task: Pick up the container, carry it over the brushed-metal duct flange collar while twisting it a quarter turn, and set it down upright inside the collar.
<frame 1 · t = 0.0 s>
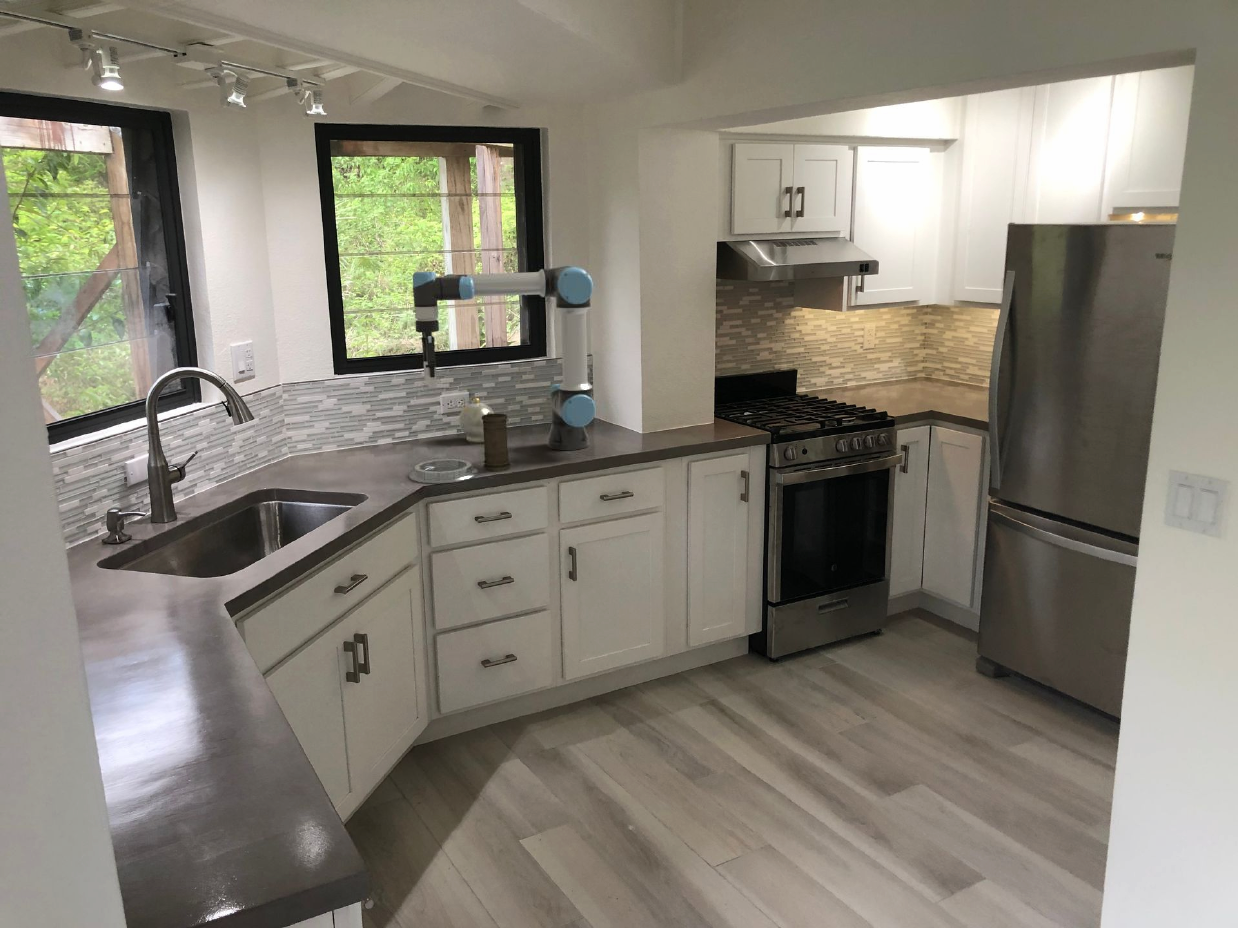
hand: (430, 384, 322), 28 cm above the worktop, fingers open, 13 cm apart
teapot: (481, 441, 364), on the worktop
container: (497, 468, 324), on the worktop
flange: (443, 474, 316), on the worktop
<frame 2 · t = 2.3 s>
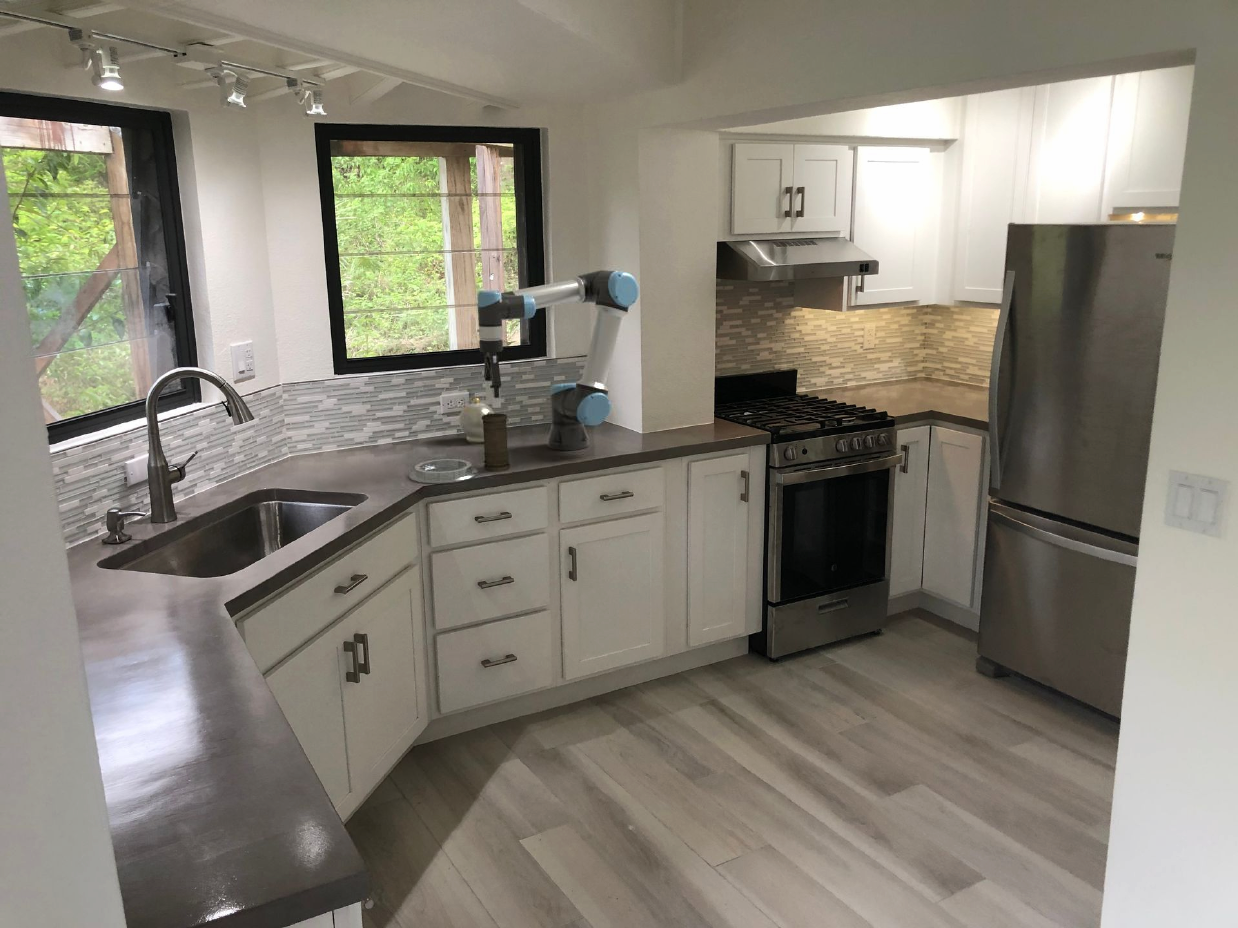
hand: (493, 404, 318), 22 cm above the worktop, fingers open, 13 cm apart
nothing on the worktop moved.
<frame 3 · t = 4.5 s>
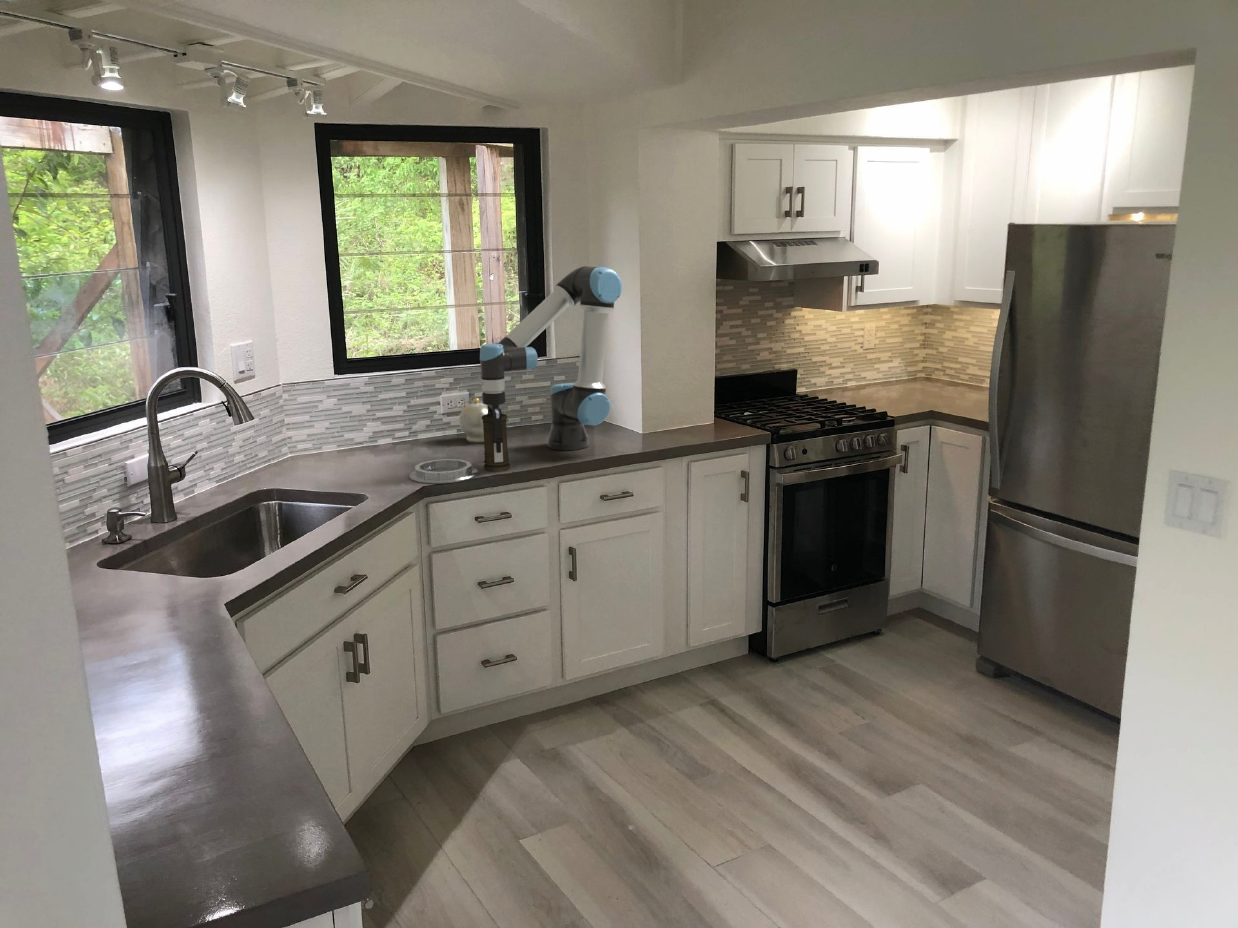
hand: (496, 458, 323), 3 cm above the worktop, fingers closed on container, 8 cm apart
container: (497, 468, 324), on the worktop, touching gripper
everything else where it was.
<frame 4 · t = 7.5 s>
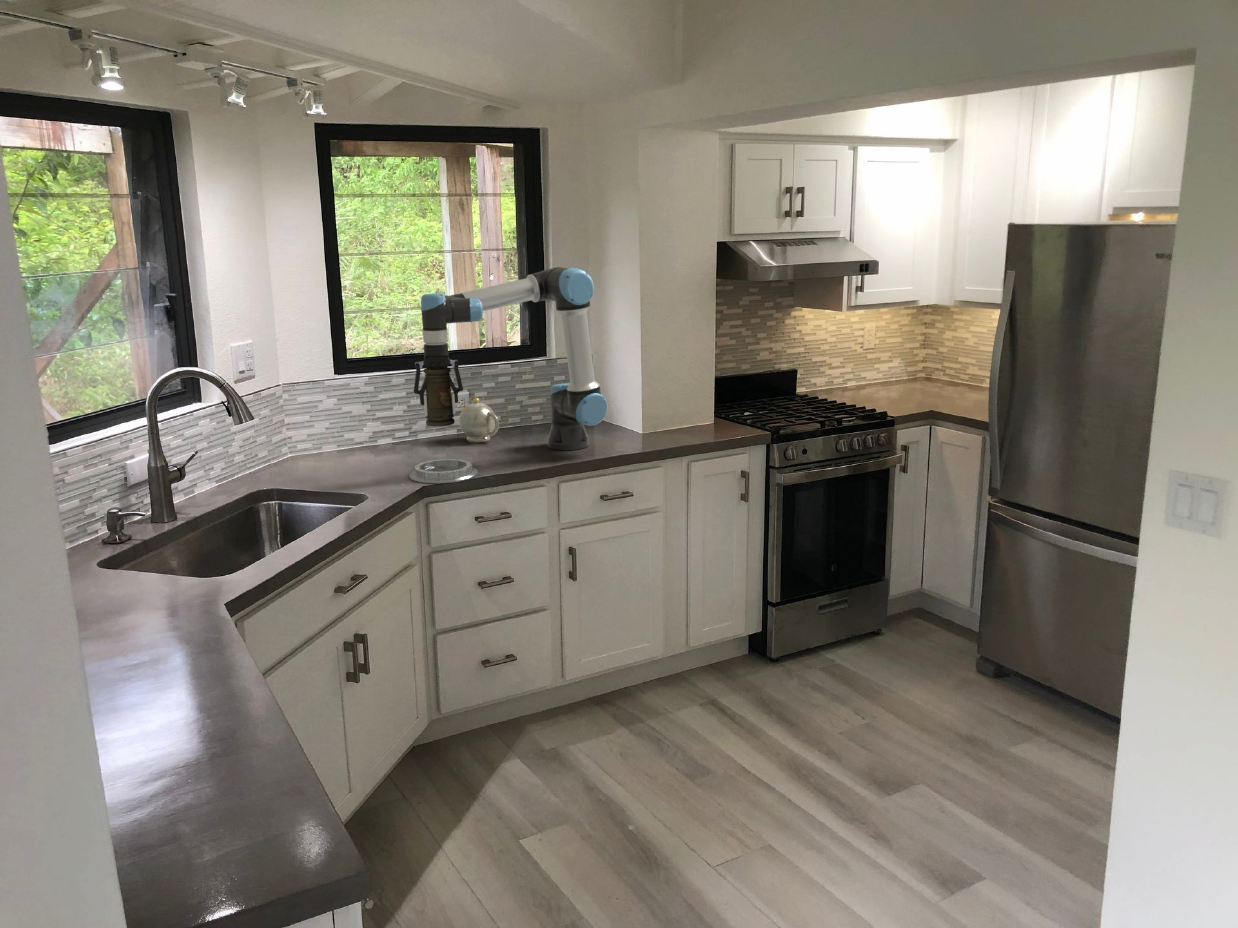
hand: (439, 413, 311), 20 cm above the worktop, fingers closed on container, 8 cm apart
container: (440, 424, 312), point 17 cm above the worktop, touching gripper
everything else where it was.
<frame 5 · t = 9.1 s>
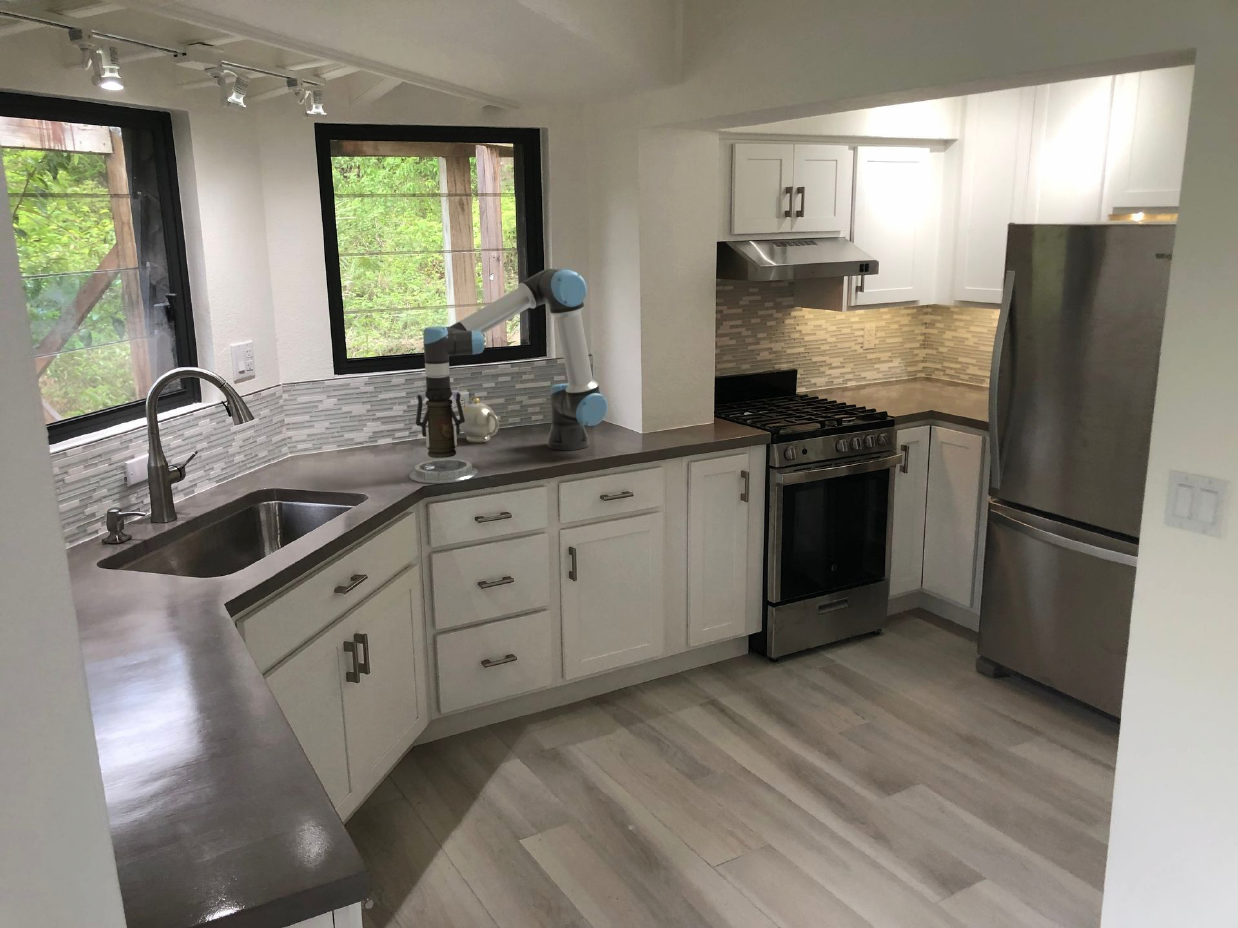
hand: (441, 445, 314), 10 cm above the worktop, fingers closed on container, 8 cm apart
container: (442, 455, 315), point 6 cm above the worktop, touching gripper
everything else where it was.
when the fingers open (6 cm above the worktop, at t = 10.5 s): container drops 2 cm, resting on flange.
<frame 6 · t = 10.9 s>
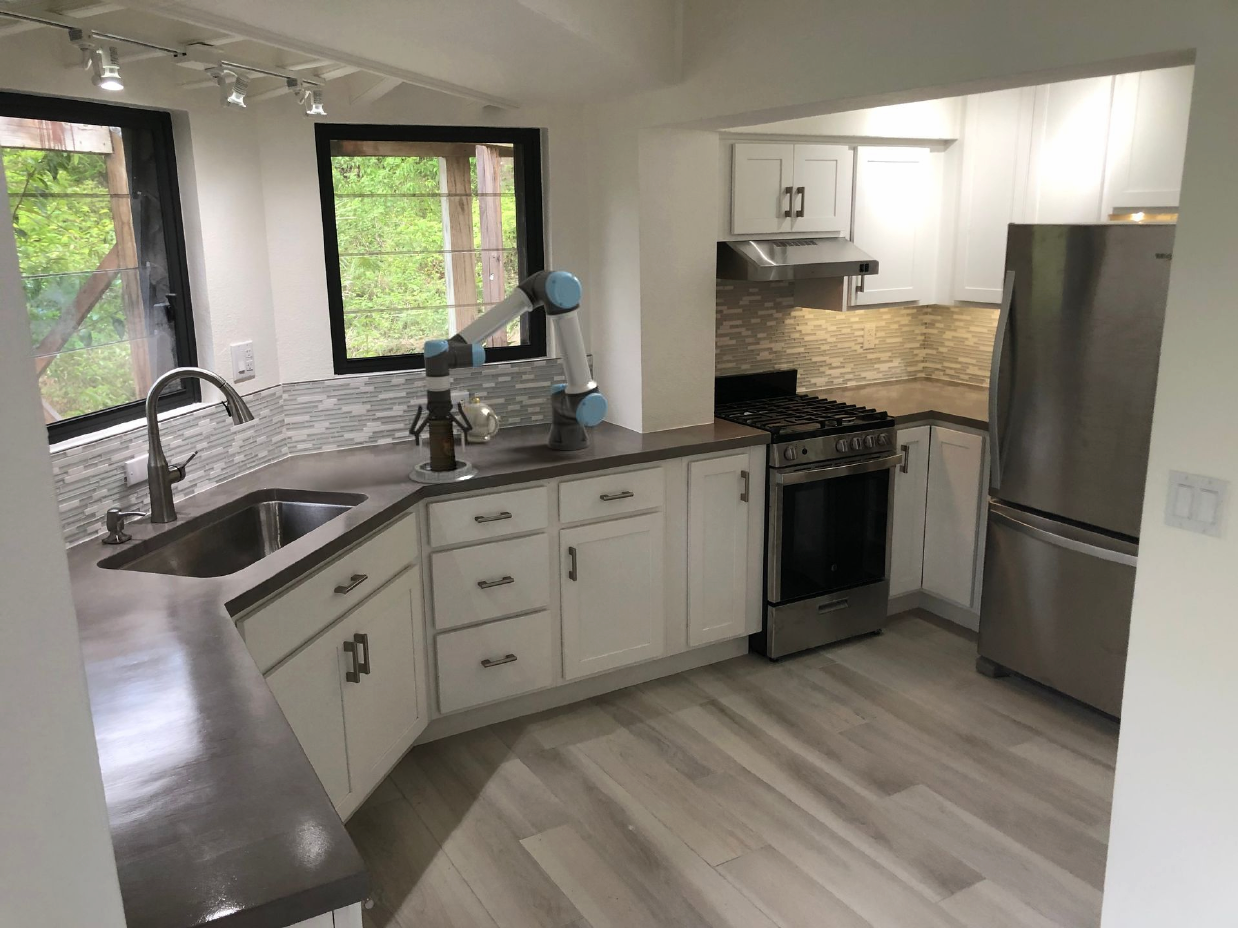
hand: (442, 453, 315), 7 cm above the worktop, fingers open, 13 cm apart
container: (443, 473, 316), resting on flange
everything else where it was.
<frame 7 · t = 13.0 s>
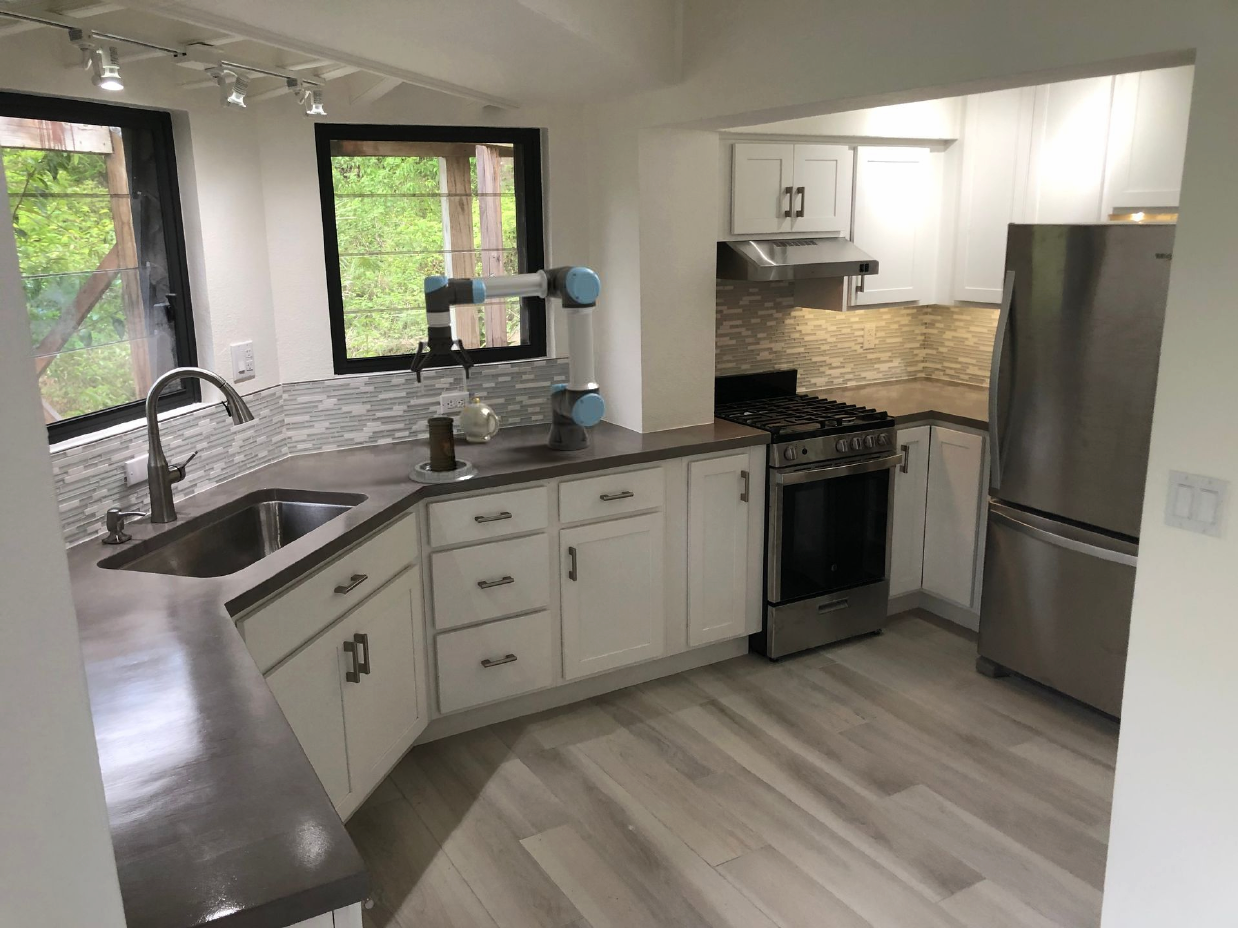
hand: (444, 391, 314), 27 cm above the worktop, fingers open, 13 cm apart
nothing on the worktop moved.
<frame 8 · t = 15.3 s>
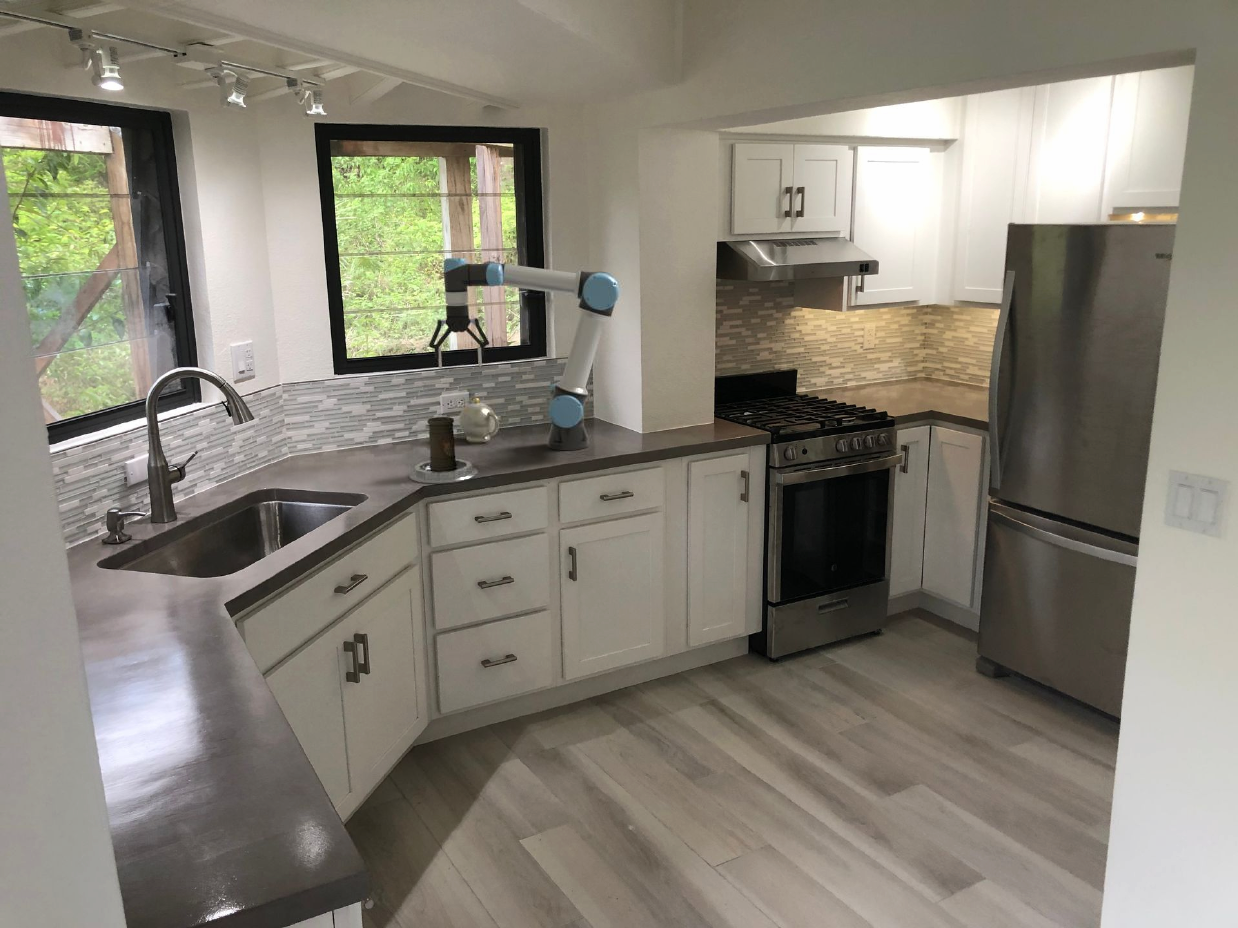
hand: (460, 367, 333), 32 cm above the worktop, fingers open, 13 cm apart
nothing on the worktop moved.
at the end: container 0.0 cm from the flange (horizontally); container tilted 0°; container resting on flange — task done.
